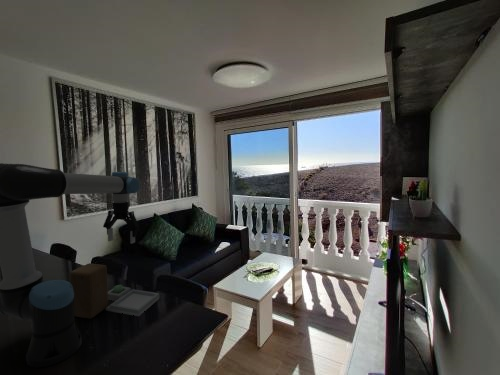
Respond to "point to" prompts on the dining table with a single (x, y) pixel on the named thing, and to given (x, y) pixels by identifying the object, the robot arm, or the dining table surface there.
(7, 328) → the dining table surface
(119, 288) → the button
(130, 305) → the shallow gray rectangular tray
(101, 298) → the wooden block
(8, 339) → the dining table surface
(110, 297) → the button housing
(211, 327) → the dining table surface
